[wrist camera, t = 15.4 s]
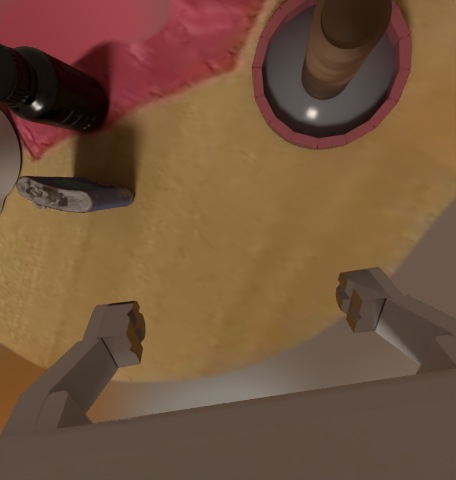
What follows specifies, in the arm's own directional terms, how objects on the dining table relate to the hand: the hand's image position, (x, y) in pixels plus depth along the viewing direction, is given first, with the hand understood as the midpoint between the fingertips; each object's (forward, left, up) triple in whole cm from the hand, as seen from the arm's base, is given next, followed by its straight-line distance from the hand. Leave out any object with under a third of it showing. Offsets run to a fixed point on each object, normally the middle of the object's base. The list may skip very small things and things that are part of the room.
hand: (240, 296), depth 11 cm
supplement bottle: (-21, +17, -25) cm, 37 cm away
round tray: (+8, +15, -24) cm, 29 cm away
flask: (-21, +6, -25) cm, 33 cm away
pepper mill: (+8, +15, -23) cm, 29 cm away
